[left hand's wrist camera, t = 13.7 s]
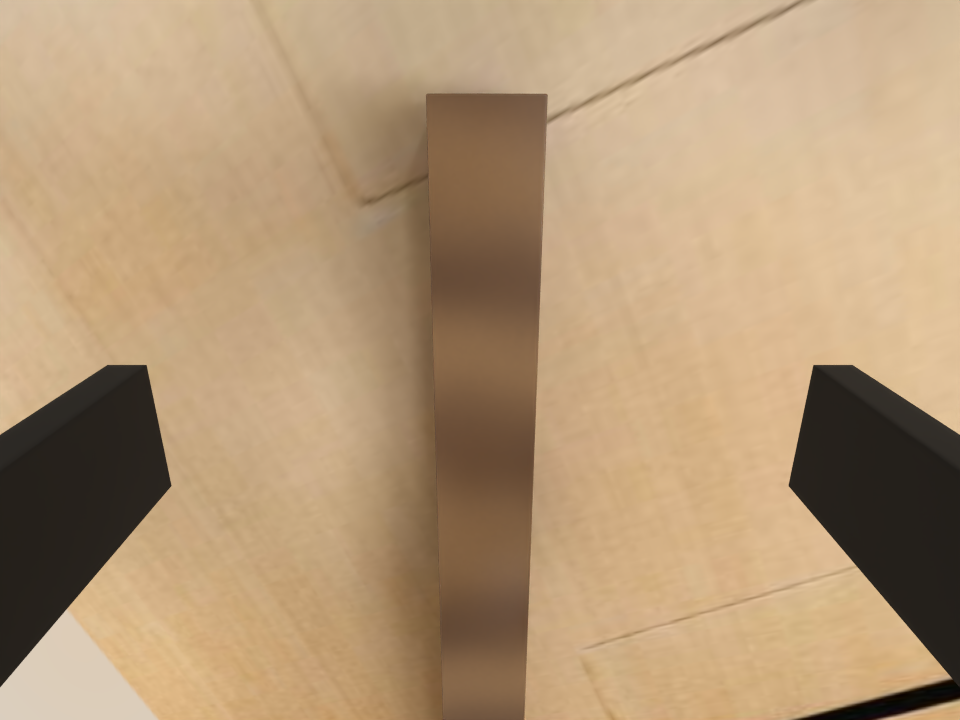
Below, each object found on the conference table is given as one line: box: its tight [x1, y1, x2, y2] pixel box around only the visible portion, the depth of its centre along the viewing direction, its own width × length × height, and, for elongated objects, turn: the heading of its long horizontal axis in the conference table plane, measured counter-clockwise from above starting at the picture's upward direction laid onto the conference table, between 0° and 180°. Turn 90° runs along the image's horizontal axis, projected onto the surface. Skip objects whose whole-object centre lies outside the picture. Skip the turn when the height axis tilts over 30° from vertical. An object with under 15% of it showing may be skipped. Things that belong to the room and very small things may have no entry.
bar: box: [426, 94, 548, 720], centre depth 39 cm, size 55×5×8 cm, turn 0°
